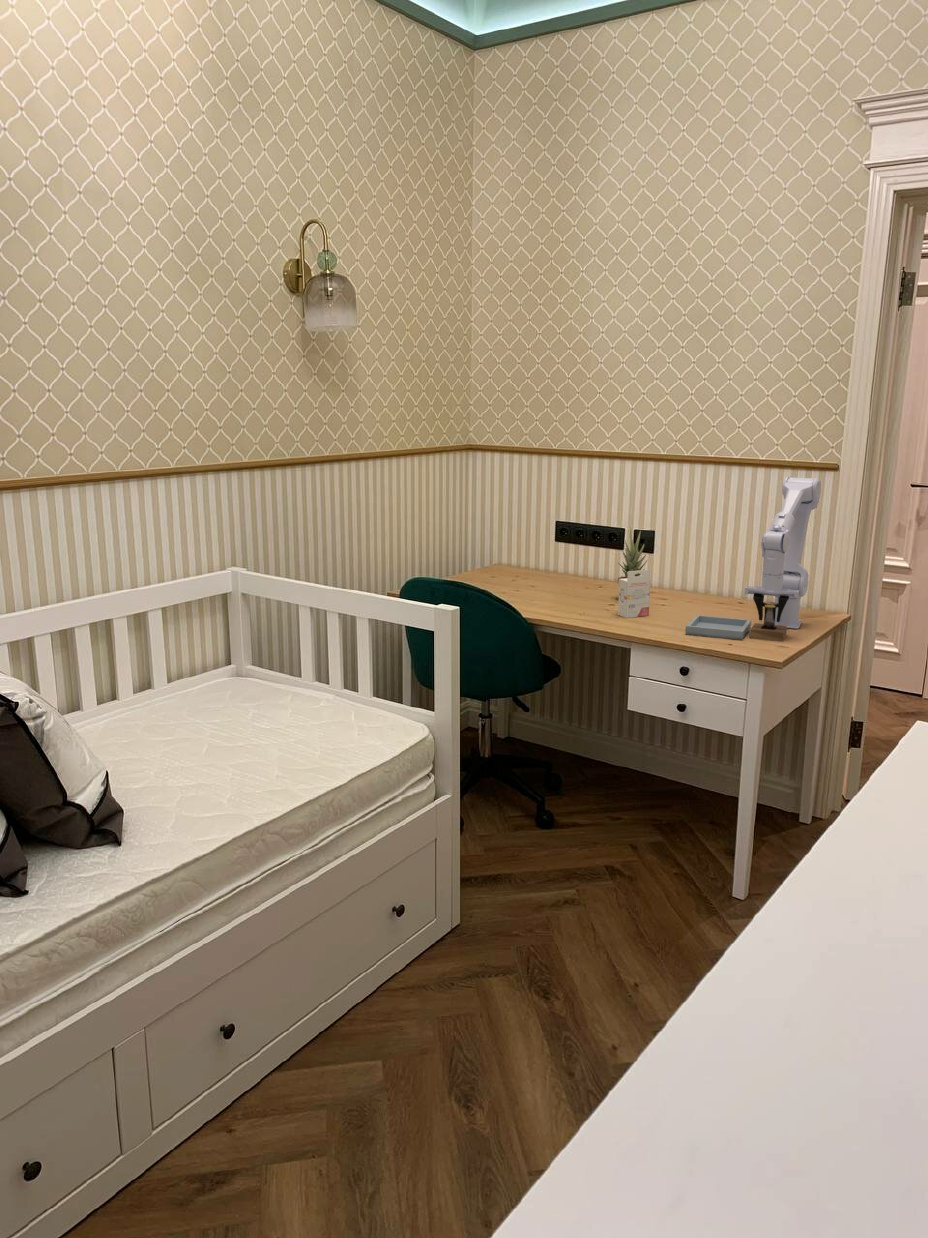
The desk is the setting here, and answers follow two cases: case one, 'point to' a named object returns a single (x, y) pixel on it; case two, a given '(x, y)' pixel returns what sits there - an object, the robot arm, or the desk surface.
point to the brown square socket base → (768, 632)
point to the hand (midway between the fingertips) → (769, 620)
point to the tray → (718, 627)
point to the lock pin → (769, 615)
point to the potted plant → (632, 557)
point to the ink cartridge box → (634, 594)
